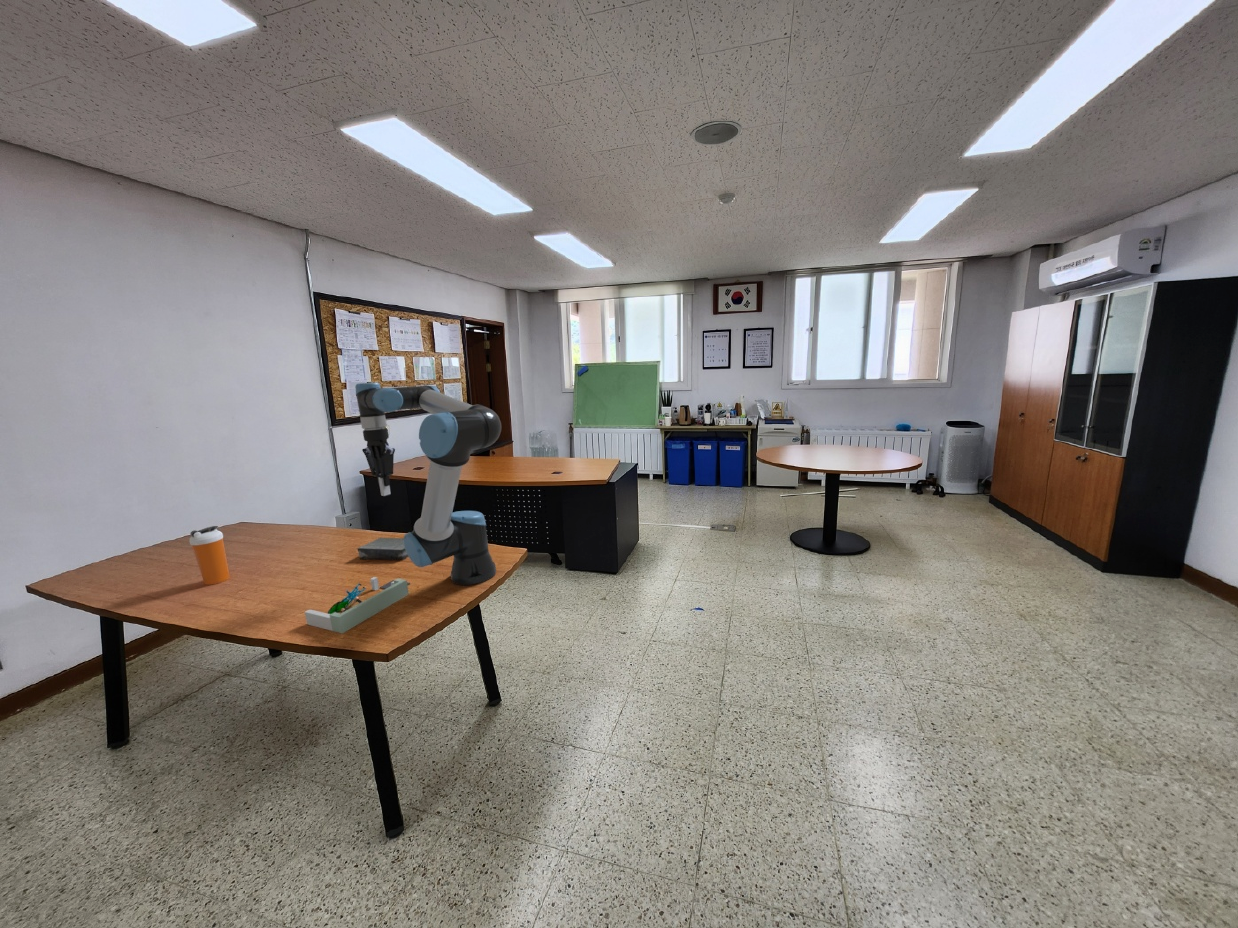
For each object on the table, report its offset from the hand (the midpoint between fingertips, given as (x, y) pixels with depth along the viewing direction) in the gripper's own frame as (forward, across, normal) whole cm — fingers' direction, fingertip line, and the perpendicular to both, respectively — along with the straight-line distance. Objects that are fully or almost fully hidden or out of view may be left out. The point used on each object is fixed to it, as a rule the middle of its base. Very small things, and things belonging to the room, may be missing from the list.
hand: (386, 494), depth 155 cm
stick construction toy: (+30, -7, +24) cm, 39 cm away
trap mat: (+29, -8, +9) cm, 32 cm away
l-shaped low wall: (+29, -8, +24) cm, 38 cm away
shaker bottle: (+29, +62, +24) cm, 73 cm away
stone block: (+30, +18, -13) cm, 37 cm away
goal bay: (+29, -16, +24) cm, 41 cm away
